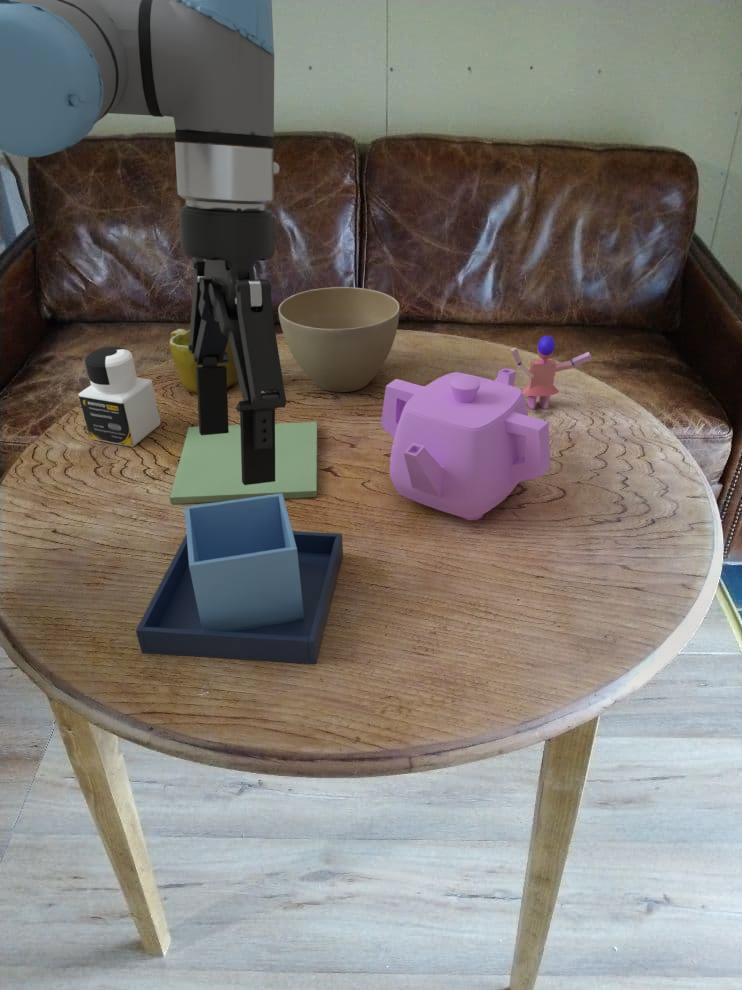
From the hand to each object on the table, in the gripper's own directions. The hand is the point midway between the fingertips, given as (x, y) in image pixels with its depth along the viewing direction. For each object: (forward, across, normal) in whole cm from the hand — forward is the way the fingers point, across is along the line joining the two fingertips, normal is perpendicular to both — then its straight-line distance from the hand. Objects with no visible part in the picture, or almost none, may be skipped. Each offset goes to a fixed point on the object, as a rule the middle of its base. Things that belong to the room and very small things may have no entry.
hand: (234, 456), depth 73 cm
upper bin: (+17, +3, -2) cm, 17 cm away
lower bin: (+17, +3, -2) cm, 18 cm away
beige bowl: (+7, +46, -32) cm, 56 cm away
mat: (+12, +29, -11) cm, 33 cm away
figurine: (+7, +24, -55) cm, 60 cm away
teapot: (+12, +10, -32) cm, 36 cm away
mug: (+8, +56, -12) cm, 58 cm away
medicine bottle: (+12, +45, +2) cm, 47 cm away
